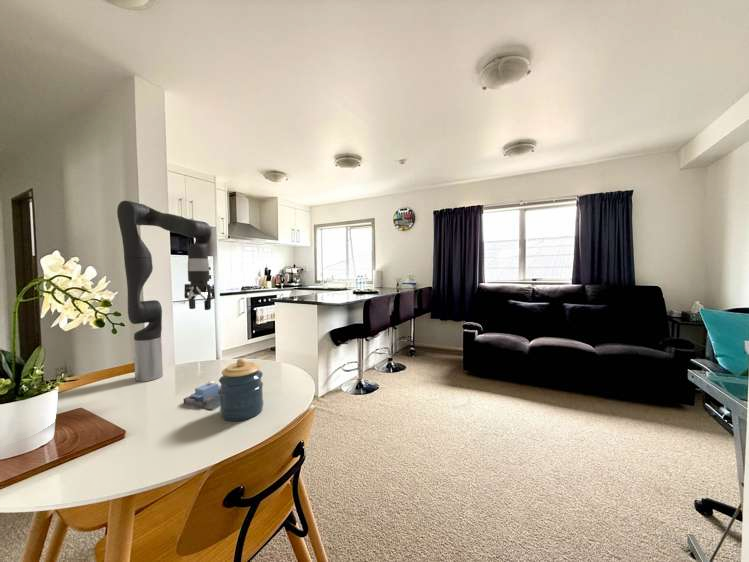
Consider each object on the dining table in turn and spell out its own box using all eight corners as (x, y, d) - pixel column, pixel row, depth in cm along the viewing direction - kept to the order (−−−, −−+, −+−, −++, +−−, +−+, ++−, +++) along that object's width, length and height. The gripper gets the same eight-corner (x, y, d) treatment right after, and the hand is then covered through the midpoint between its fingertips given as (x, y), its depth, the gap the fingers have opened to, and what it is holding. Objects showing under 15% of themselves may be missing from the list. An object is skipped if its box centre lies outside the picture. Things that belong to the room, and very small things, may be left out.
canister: (215, 425, 90) (213, 367, 89) (224, 405, 103) (223, 354, 102) (261, 418, 94) (260, 363, 93) (265, 400, 106) (263, 351, 105)
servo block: (190, 404, 104) (190, 388, 104) (214, 393, 113) (214, 378, 113) (199, 406, 102) (198, 389, 102) (222, 395, 111) (222, 379, 111)
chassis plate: (183, 403, 104) (183, 397, 104) (211, 391, 115) (210, 385, 114) (212, 410, 100) (212, 403, 99) (238, 396, 110) (238, 390, 110)
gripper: (177, 270, 122) (179, 309, 122) (203, 270, 117) (204, 311, 117) (194, 269, 129) (195, 307, 129) (219, 269, 124) (220, 308, 124)
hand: (200, 309), depth 123 cm, fingers open, 8 cm apart
